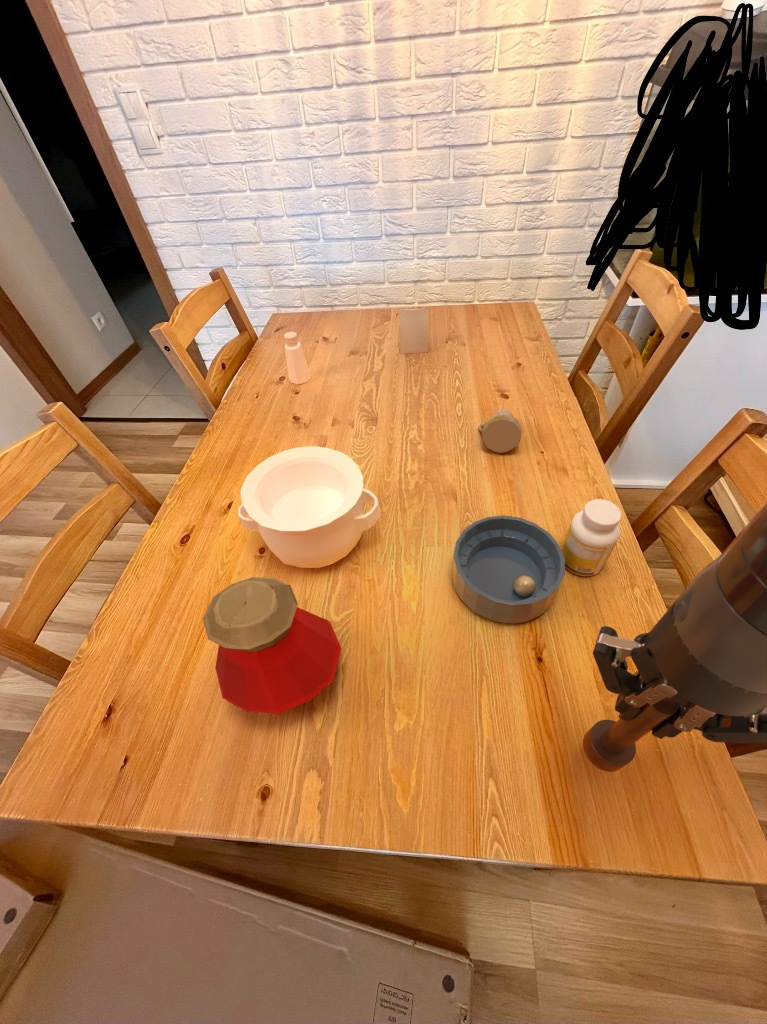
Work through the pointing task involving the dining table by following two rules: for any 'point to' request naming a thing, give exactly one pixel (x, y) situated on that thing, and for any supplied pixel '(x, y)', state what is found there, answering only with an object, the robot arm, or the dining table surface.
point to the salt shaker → (296, 360)
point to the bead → (524, 585)
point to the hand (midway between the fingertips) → (640, 718)
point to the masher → (624, 735)
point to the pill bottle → (591, 537)
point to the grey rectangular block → (414, 330)
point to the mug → (501, 432)
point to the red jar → (269, 646)
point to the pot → (308, 505)
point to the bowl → (506, 568)
